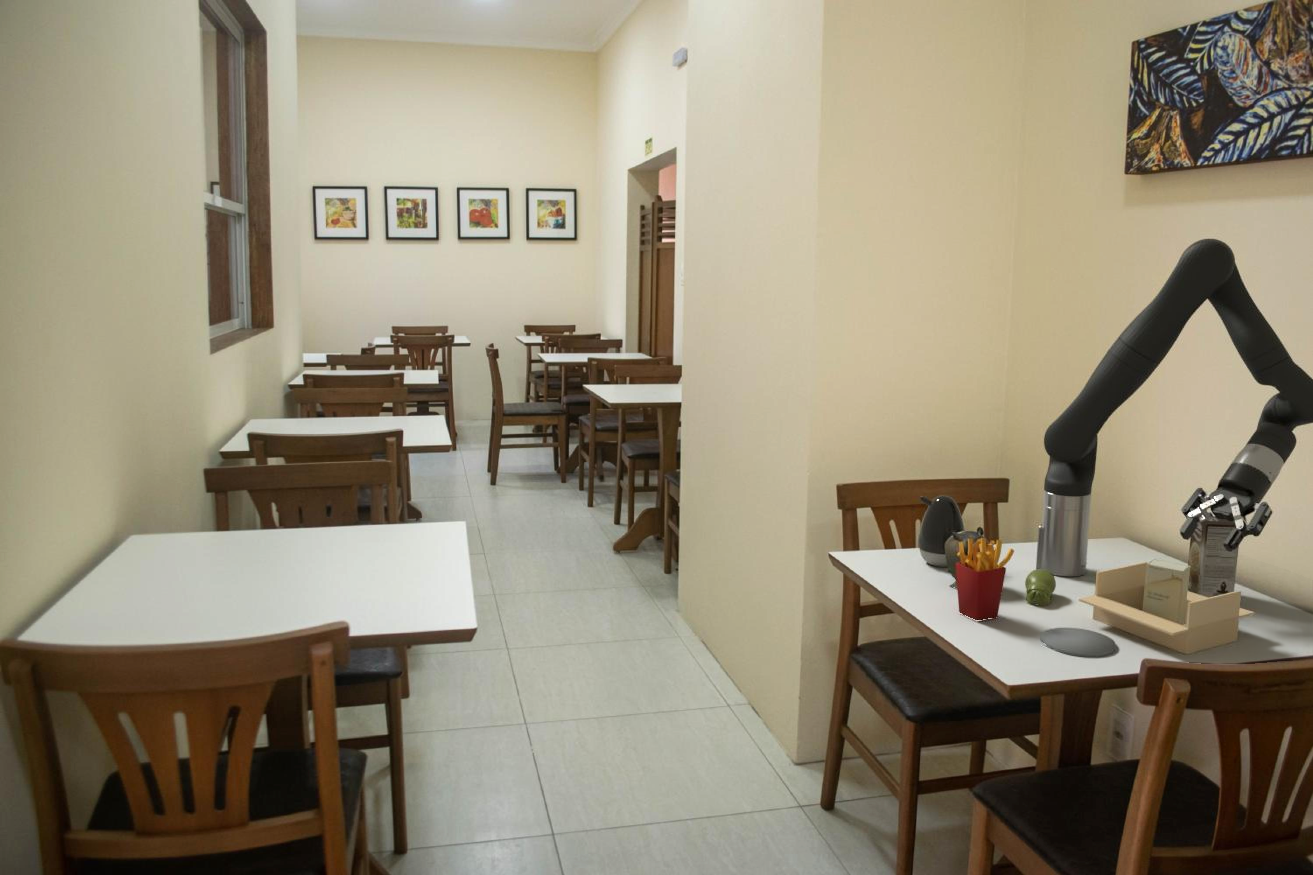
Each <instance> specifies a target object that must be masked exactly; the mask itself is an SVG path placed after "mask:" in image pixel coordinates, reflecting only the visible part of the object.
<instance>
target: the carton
mask: <svg viewBox="0 0 1313 875" xmlns="http://www.w3.org/2000/svg"><path fill="white" fill-rule="evenodd" d="M1148 563H1149V562H1148V561H1144V562H1138V563H1133V564H1130V565H1129V564H1128V565H1124V566H1120V567H1115V568H1109V569H1105V570H1099V571H1096V576H1095V587H1094V589H1095V590H1094V595H1091V596H1086V597H1080V598H1078V602H1080V603H1083V604H1087V605H1089V606H1091V607H1093V609H1092V610H1093V611H1092V619H1093V620H1095V621H1098V622H1100V623H1103V624H1106V625H1109V626H1112V627H1114V628H1116V629H1119V630H1121V631H1124V632H1127V633H1130V634H1131V635H1134V636H1137V637H1140V638H1142V639H1145V640H1148V641H1151V642H1153V643H1156V644H1158V645H1161V646H1163V647H1166V648H1169V649H1171V650H1173V651H1176V652H1179V653H1182V654H1184V655H1190V654H1194V653H1197V652H1199V651H1200V652H1201V651H1204V650H1208V649H1211V648H1215V647H1218V646H1223V645H1226V644H1227V645H1228V644H1229V643H1234V642H1237V641H1238V636H1239V635H1238V634H1239V626H1240V625H1239V622H1240V619H1242V618H1245V617H1250V616H1253V615H1255V611H1251V610H1248V609H1245V608H1241V600H1242V598H1241V597H1242V591H1241V590H1234V592H1230V593H1226V594H1222V595H1218V596H1214V597H1210V598H1208V597H1205V596H1202V595H1199V594H1196V593H1193V592H1189V591H1188V592H1187V601H1186V610H1185V618H1184V626H1183V625H1180V624H1177V623H1174V622H1171V621H1169V620H1166V619H1163V618H1160V617H1157V616H1155V615H1152V614H1149V613H1146V612H1143V611H1142V610H1143V600H1144V591H1145V582H1146V573H1147V565H1148ZM1185 625H1186V626H1185ZM1233 641H1234V642H1233Z"/></svg>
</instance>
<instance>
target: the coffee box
mask: <svg viewBox="0 0 1313 875" xmlns="http://www.w3.org/2000/svg"><path fill="white" fill-rule="evenodd" d="M1200 515H1202V514H1200ZM1200 515H1198V516H1200ZM1198 516H1197V517H1198ZM1233 529H1236V524H1235V521H1233V522H1231V521H1228V520H1226V519H1218V518H1214V519H1212V520H1205V521H1203V522H1201V523H1199V524H1198V527H1197V528H1196V530H1195V531H1194V532H1193V534H1192V535H1191V537H1190V538H1189V540H1190V541H1189V550H1188V551H1189V552H1188V563H1187V565H1188V566H1191V567H1190V575H1189V583H1188V591H1189V592H1193V593H1196V594H1199V595H1202V596H1205V597H1208V598H1210V597H1214V596H1218V595H1222V594H1226V593H1230V592H1235V586H1236V585H1235V584H1236V576H1237V566H1238V565H1237V564H1238V558H1239V549H1240V548H1239V547H1240V545H1239V546H1238V547H1237V548H1236V549H1235V550H1234V549H1233V551H1232V552H1230V551H1227V550H1226V549H1225V547H1224V546H1223V544H1224V542H1225V540H1226V539H1227V537H1228V536H1229V534H1230V533H1231V532H1232V530H1233Z"/></svg>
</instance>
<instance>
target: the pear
mask: <svg viewBox="0 0 1313 875" xmlns="http://www.w3.org/2000/svg"><path fill="white" fill-rule="evenodd" d="M1024 582H1025V589H1026V590H1025V591H1026V593H1025V601H1026V602H1027V604H1029V603H1030V605H1034V604H1038V605H1037V606H1041V605H1043V606H1042V607H1045V606H1047V605H1049V604H1050V603H1051V595H1052V594H1053V593H1054V591H1055V590H1056V586H1057V584H1056V579H1055V576H1054V575H1053V574H1052V573H1050V572H1049V571H1047V570H1044V569H1036V568H1035V569H1034V570H1031V571H1030V572H1029V573H1028V575H1027V576H1026V578H1025V581H1024Z"/></svg>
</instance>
